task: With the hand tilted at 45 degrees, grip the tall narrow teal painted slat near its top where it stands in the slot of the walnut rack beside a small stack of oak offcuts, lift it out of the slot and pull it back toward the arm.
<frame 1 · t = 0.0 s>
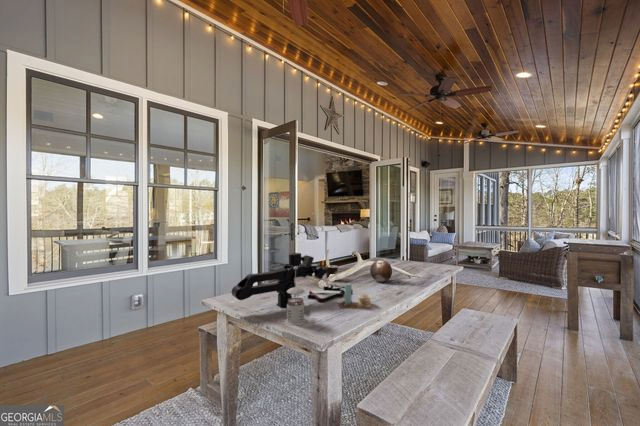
hand: (323, 268, 175), 17 cm above the table, tool horizontal, fingers open, 9 cm apart
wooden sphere: (381, 281, 213), on the table
coffee mug: (333, 280, 217), on the table
rack: (348, 307, 157), on the table
plank: (348, 305, 157), point 1 cm above the table, touching rack
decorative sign: (328, 297, 178), on the table
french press: (295, 320, 140), on the table
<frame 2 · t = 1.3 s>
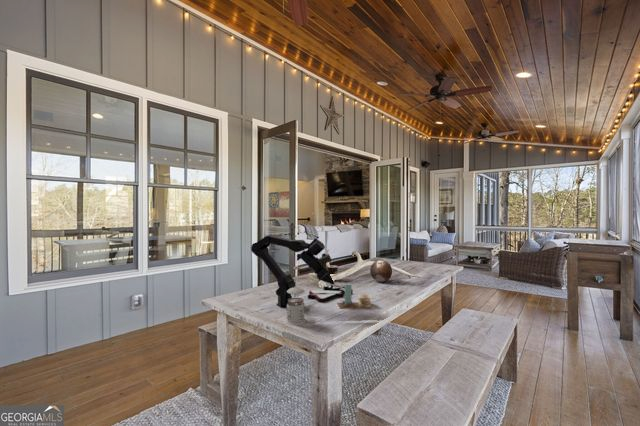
hand: (332, 281, 156), 14 cm above the table, tool tilted 45°, fingers open, 9 cm apart
nothing on the table moved.
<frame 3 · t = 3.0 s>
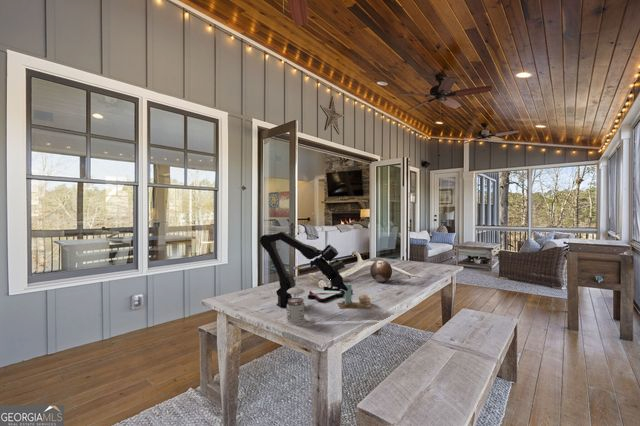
hand: (345, 287, 157), 10 cm above the table, tool tilted 45°, fingers open, 9 cm apart
nothing on the table moved.
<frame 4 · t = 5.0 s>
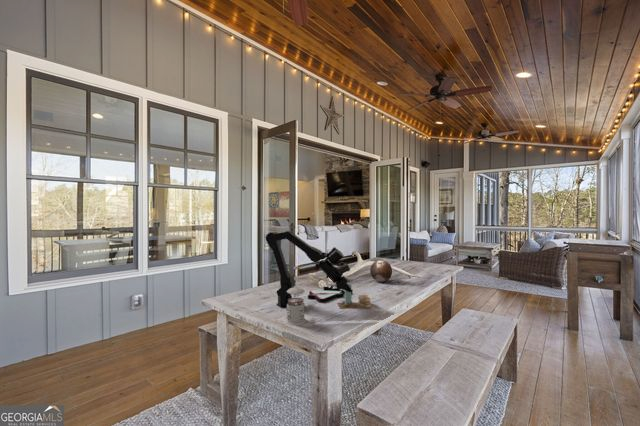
hand: (350, 290, 157), 9 cm above the table, tool tilted 45°, fingers closed on plank, 2 cm apart
plank: (348, 305, 157), point 1 cm above the table, touching gripper, rack
everything else where it was.
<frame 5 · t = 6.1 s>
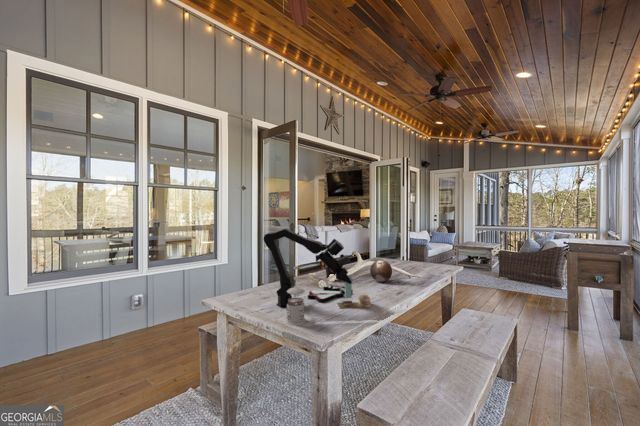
hand: (350, 282, 157), 13 cm above the table, tool tilted 45°, fingers closed on plank, 2 cm apart
plank: (348, 297, 157), point 5 cm above the table, touching gripper
everything else where it was.
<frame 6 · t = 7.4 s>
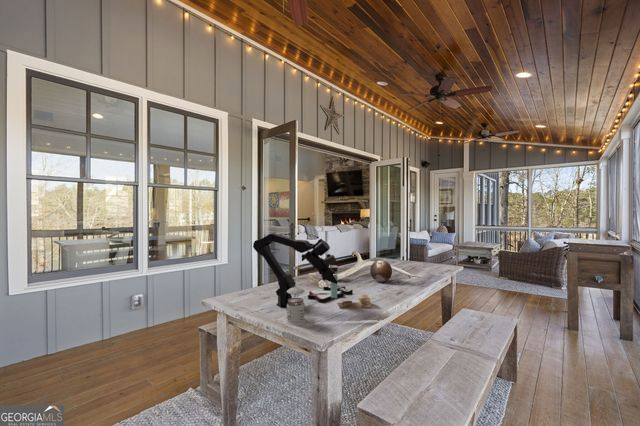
hand: (336, 282, 157), 13 cm above the table, tool tilted 45°, fingers closed on plank, 2 cm apart
plank: (333, 297, 157), point 6 cm above the table, touching gripper
everything else where it was.
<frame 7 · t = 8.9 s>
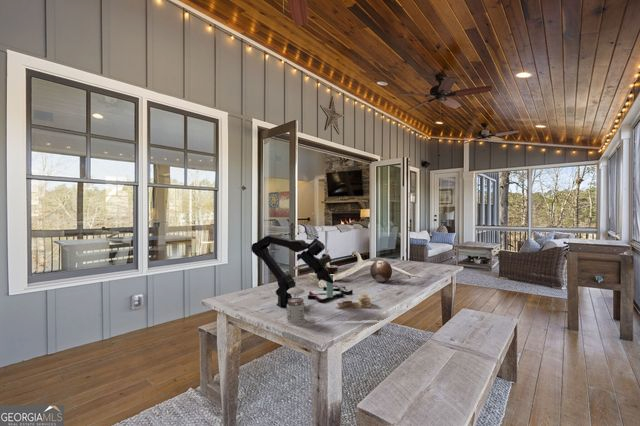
hand: (332, 281, 156), 14 cm above the table, tool tilted 45°, fingers closed on plank, 2 cm apart
plank: (329, 296, 156), point 6 cm above the table, touching gripper
everything else where it was.
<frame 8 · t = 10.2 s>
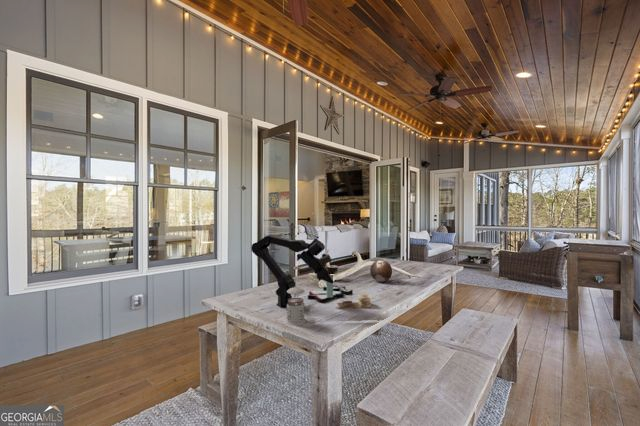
hand: (332, 281, 156), 14 cm above the table, tool tilted 45°, fingers closed on plank, 2 cm apart
plank: (329, 296, 156), point 6 cm above the table, touching gripper
everything else where it was.
at the end: the gripper is holding plank; plank point 6.0 cm above the table; plank moved 10.6 cm from its start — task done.
